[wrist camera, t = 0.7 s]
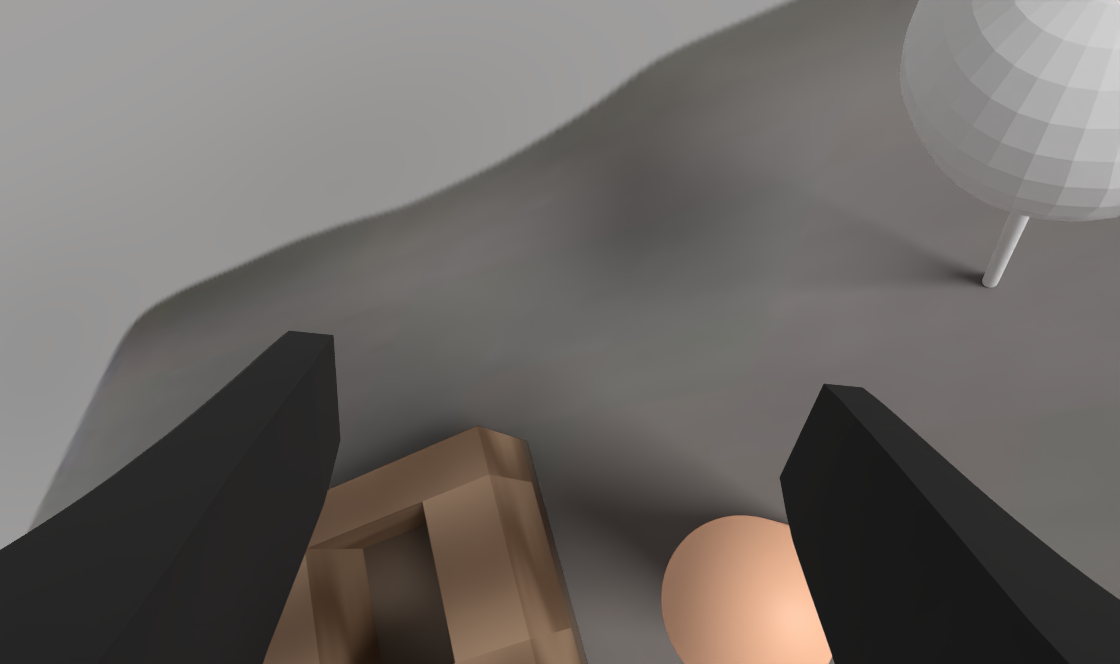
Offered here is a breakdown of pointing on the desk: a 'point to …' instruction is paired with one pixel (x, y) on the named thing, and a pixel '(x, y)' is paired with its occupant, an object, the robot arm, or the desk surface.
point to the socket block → (433, 566)
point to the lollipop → (1019, 106)
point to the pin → (741, 597)
